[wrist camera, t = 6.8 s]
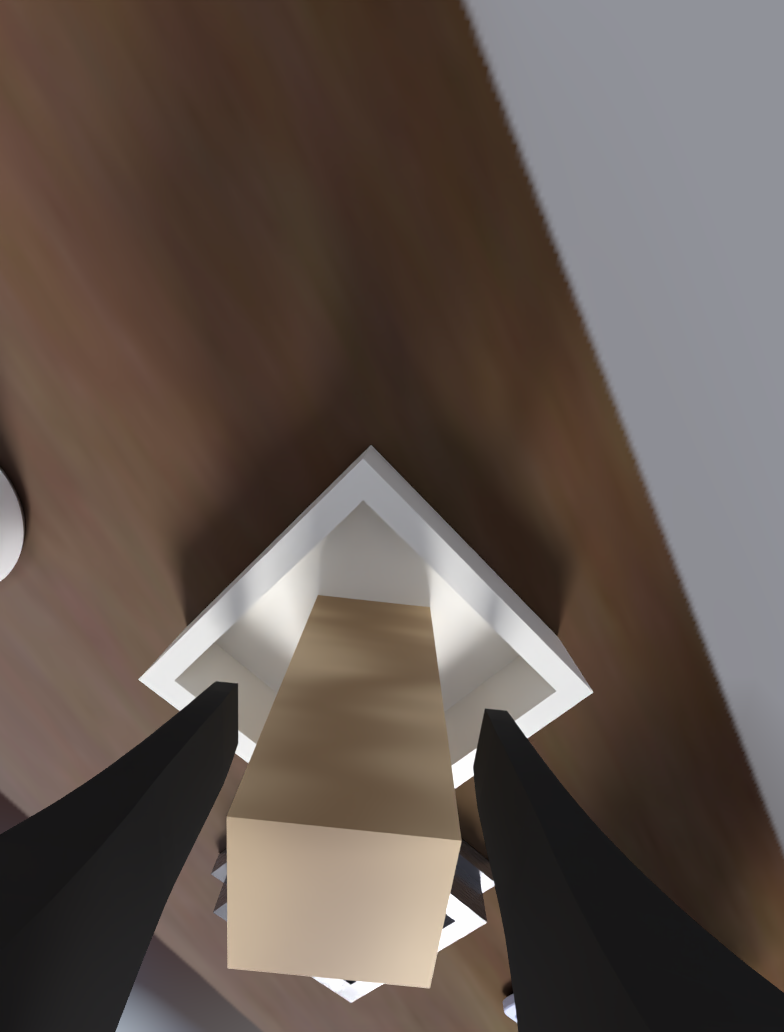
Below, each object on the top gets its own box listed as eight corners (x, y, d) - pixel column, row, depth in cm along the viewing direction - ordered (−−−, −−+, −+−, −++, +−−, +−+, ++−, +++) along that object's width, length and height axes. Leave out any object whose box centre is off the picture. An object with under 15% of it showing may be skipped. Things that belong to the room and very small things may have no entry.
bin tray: (557, 637, 16) (593, 692, 13) (370, 777, 18) (364, 851, 15) (371, 444, 14) (362, 458, 11) (186, 627, 16) (138, 679, 13)
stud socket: (492, 864, 19) (504, 922, 17) (356, 950, 21) (351, 1012, 19) (353, 750, 17) (347, 799, 15) (218, 855, 19) (196, 911, 17)
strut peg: (430, 607, 15) (461, 841, 7) (416, 700, 16) (429, 988, 8) (317, 595, 15) (226, 816, 7) (311, 688, 16) (227, 968, 8)
